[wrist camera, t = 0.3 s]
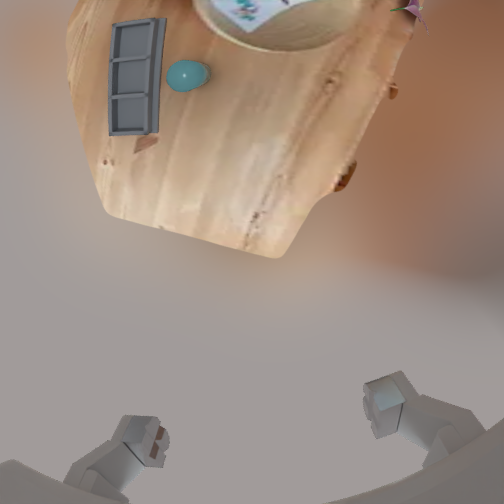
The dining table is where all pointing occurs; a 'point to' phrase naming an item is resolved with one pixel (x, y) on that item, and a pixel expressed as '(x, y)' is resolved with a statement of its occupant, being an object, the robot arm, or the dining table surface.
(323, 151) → the dining table surface
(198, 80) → the teal cylinder
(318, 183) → the dining table surface
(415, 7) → the lily
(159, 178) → the dining table surface
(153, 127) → the cup rack
